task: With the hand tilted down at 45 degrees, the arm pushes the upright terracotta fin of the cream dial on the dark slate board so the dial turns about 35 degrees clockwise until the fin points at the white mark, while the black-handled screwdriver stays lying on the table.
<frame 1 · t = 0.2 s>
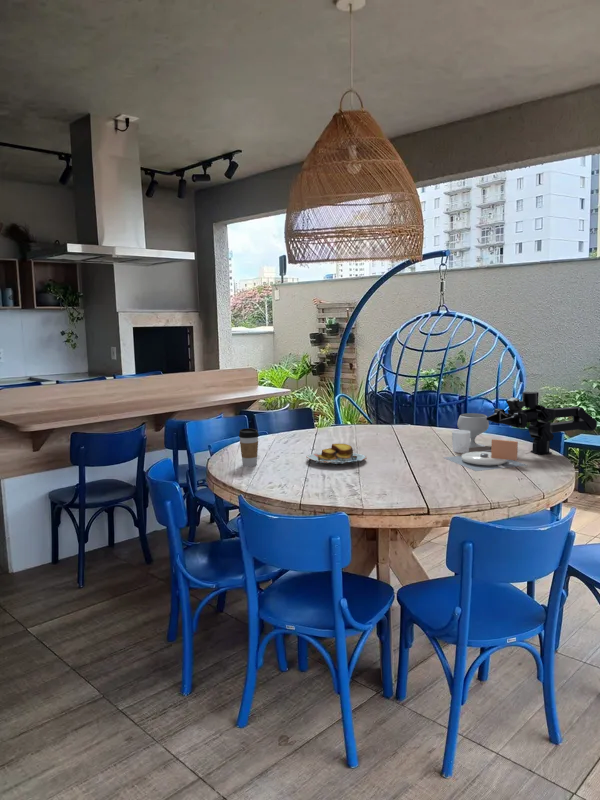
hand: (493, 420, 261), 16 cm above the table, tool horizontal, fingers open, 9 cm apart
white cup: (460, 454, 272), on the table
chalice: (472, 447, 284), on the table
screwdriver: (493, 452, 274), on the table
coffee cup: (249, 465, 259), on the table
food on plate: (336, 462, 263), on the table
dial: (485, 449, 252), point 6 cm above the table, hinge at 0.0°
board: (484, 464, 253), on the table
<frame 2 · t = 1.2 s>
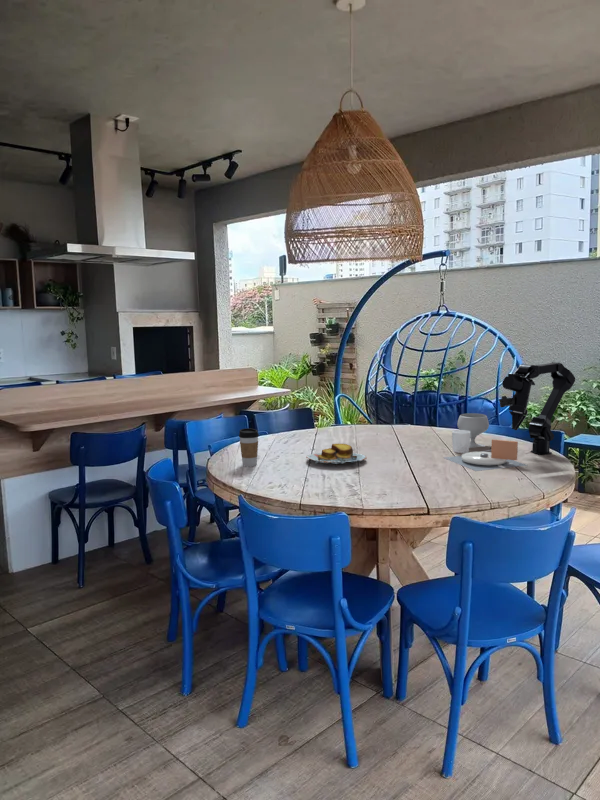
hand: (514, 429, 260), 12 cm above the table, tool tilted 15°, fingers open, 9 cm apart
nothing on the table moved.
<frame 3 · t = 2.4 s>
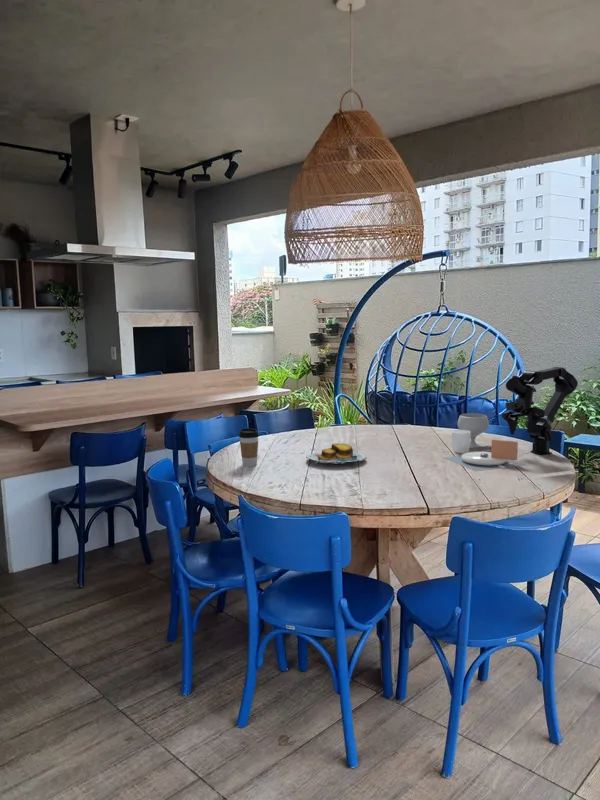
hand: (520, 433, 256), 11 cm above the table, tool tilted 30°, fingers open, 9 cm apart
nothing on the table moved.
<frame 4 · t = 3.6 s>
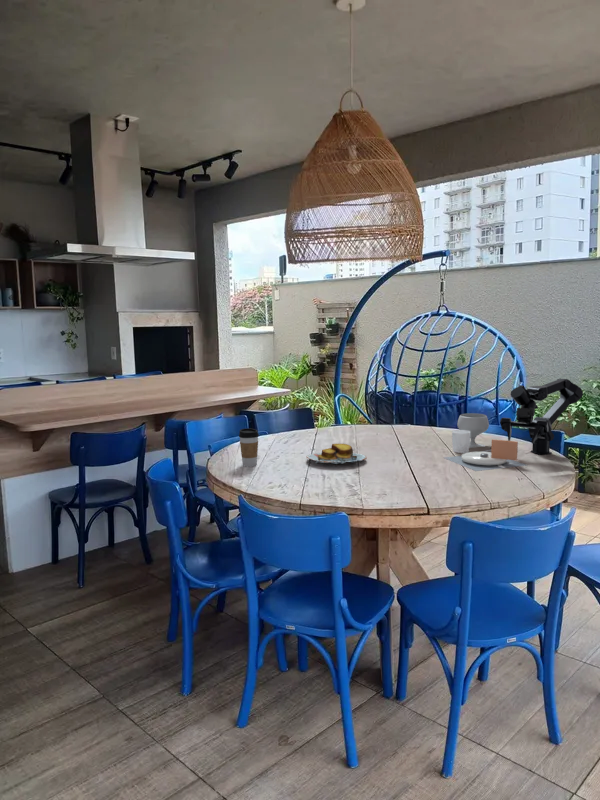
hand: (520, 441, 254), 9 cm above the table, tool tilted 45°, fingers open, 9 cm apart
nothing on the table moved.
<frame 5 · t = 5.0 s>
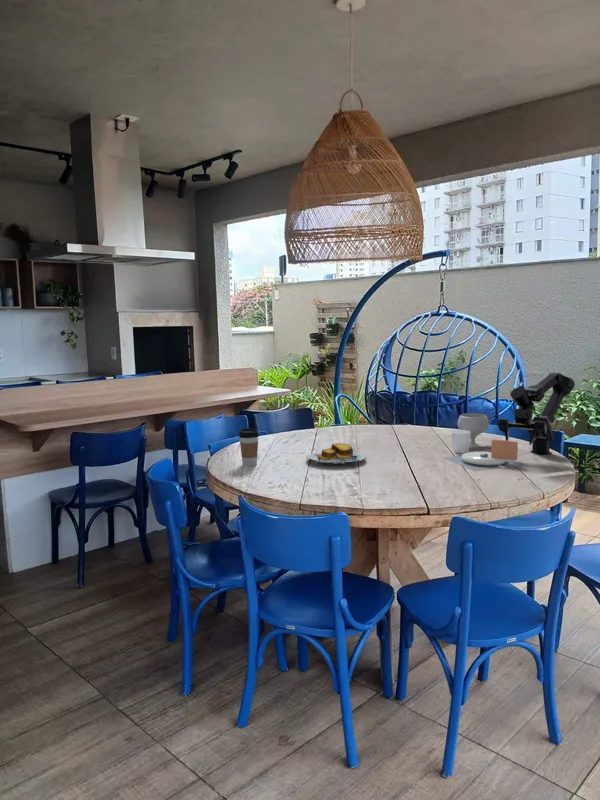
hand: (518, 443, 251), 9 cm above the table, tool tilted 45°, fingers open, 9 cm apart
nothing on the table moved.
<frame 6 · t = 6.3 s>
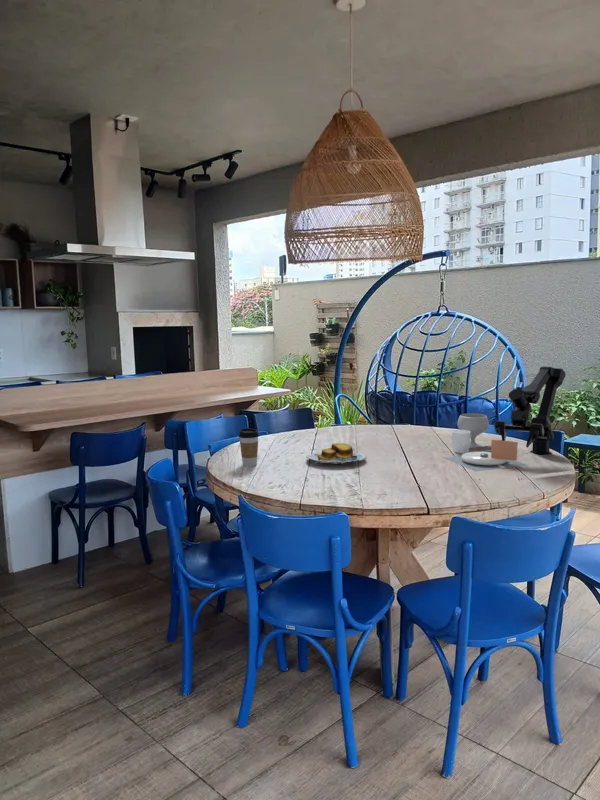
hand: (514, 445, 246), 9 cm above the table, tool tilted 45°, fingers open, 9 cm apart
dial: (485, 449, 251), point 6 cm above the table, hinge at 2.0°, touching gripper
everything else where it was.
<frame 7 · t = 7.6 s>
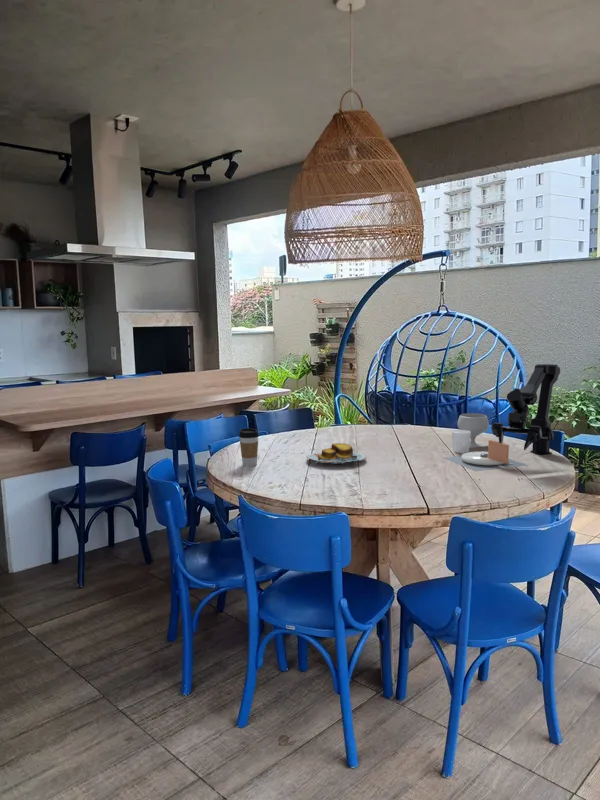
hand: (512, 448, 242), 9 cm above the table, tool tilted 45°, fingers open, 9 cm apart
dial: (484, 449, 251), point 6 cm above the table, hinge at 33.3°, touching gripper
everything else where it was.
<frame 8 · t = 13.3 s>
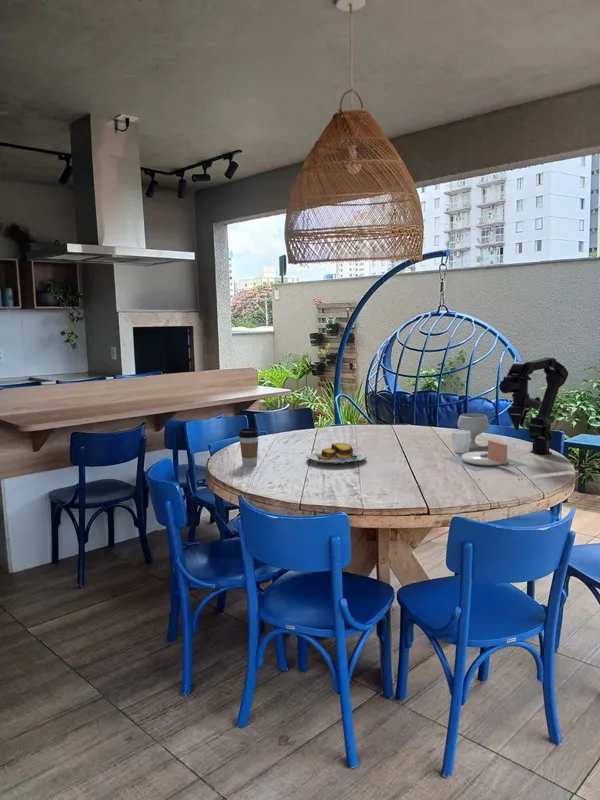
hand: (519, 427, 261), 13 cm above the table, tool pointing down, fingers open, 9 cm apart
dial: (484, 449, 252), point 6 cm above the table, hinge at 36.8°
everything else where it was.
at the end: dial at +37° (first picture: +0°) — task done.
